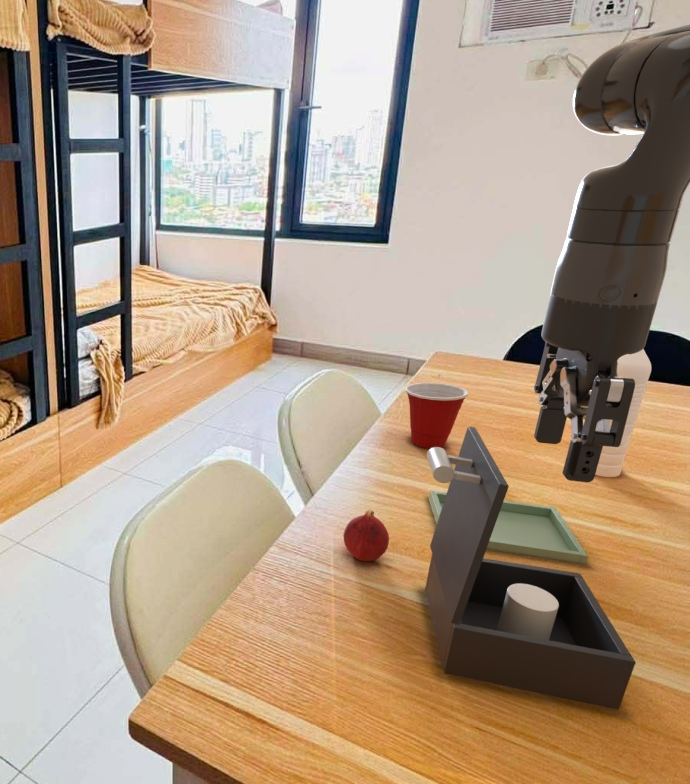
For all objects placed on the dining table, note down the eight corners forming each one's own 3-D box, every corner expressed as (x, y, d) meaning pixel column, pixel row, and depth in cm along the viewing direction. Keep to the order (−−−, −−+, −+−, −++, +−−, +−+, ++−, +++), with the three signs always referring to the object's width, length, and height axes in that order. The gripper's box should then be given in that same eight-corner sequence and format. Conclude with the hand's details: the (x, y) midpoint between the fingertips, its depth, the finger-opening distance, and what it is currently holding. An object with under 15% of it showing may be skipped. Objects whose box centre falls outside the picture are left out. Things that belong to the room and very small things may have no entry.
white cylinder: (537, 634, 73) (550, 587, 71) (551, 663, 68) (565, 615, 66) (491, 625, 74) (502, 579, 72) (501, 653, 70) (513, 606, 68)
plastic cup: (416, 430, 131) (425, 375, 127) (468, 448, 122) (480, 390, 118) (384, 442, 125) (393, 385, 121) (436, 462, 117) (448, 402, 113)
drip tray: (552, 518, 98) (555, 507, 97) (584, 569, 86) (588, 555, 85) (428, 501, 103) (430, 490, 102) (442, 546, 91) (444, 534, 90)
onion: (389, 575, 85) (398, 524, 82) (344, 571, 86) (352, 520, 83) (379, 551, 90) (387, 502, 87) (337, 547, 91) (344, 498, 88)
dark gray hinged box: (566, 620, 76) (580, 573, 74) (616, 716, 63) (636, 662, 61) (423, 595, 81) (432, 549, 79) (442, 679, 68) (454, 627, 65)
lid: (475, 427, 72) (425, 418, 74) (509, 486, 59) (447, 474, 60) (436, 547, 78) (391, 537, 80) (459, 625, 65) (404, 611, 66)
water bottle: (618, 482, 109) (661, 344, 100) (573, 472, 113) (610, 337, 104) (620, 465, 115) (659, 333, 107) (576, 455, 119) (611, 327, 110)
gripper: (699, 313, 47) (641, 501, 53) (619, 280, 60) (579, 435, 66) (583, 308, 50) (538, 489, 55) (529, 278, 62) (497, 427, 68)
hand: (560, 459), depth 60 cm, fingers open, 8 cm apart
